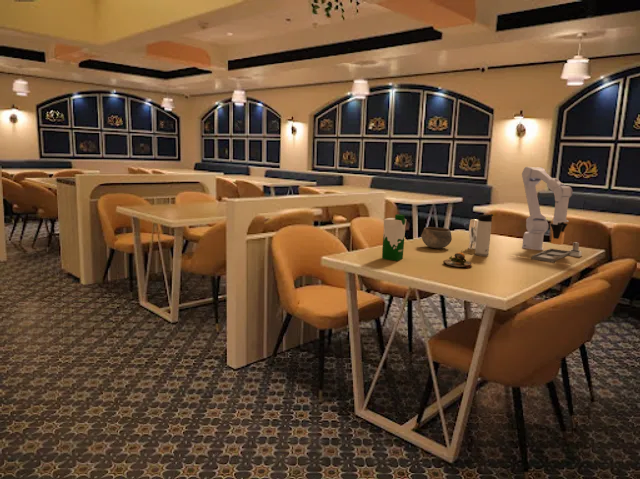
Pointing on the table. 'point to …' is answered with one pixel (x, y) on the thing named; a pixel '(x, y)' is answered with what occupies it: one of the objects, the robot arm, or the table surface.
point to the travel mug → (483, 235)
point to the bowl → (436, 237)
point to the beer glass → (473, 233)
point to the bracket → (575, 253)
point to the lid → (545, 257)
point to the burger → (458, 261)
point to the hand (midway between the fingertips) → (557, 237)
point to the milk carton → (393, 238)
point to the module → (559, 240)
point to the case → (555, 252)
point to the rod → (575, 246)
